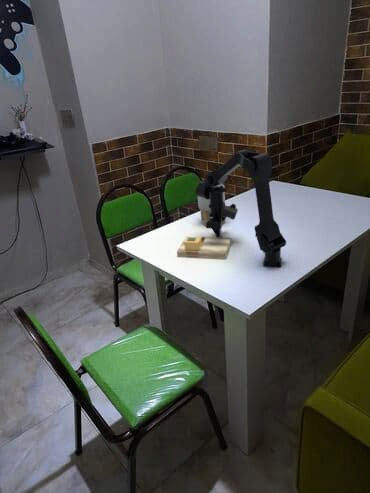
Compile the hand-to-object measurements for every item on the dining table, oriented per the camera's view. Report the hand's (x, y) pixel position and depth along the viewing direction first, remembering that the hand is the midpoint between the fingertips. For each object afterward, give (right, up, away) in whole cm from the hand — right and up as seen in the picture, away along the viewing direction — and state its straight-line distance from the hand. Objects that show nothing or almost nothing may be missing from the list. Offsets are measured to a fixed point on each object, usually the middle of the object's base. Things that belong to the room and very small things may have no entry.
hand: (218, 235), depth 150 cm
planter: (-1, +7, +20) cm, 22 cm away
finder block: (-11, -5, -8) cm, 15 cm away
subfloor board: (-6, -6, -6) cm, 11 cm away
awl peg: (0, -2, +1) cm, 2 cm away
